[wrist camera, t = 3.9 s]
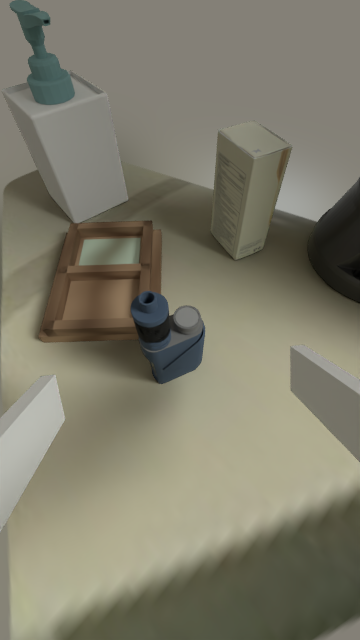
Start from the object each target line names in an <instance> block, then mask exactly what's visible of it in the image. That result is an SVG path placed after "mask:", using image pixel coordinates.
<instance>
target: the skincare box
mask: <svg viewBox="0 0 360 640" xmlns="http://www.w3.org/2000/svg"><path fill="white" fill-rule="evenodd" d="M291 150H292V145H291V144H289V143H288V142H286V141H285V140H283V139H282V138H281V137H279V136H278V135H276V134H275V133H273V132H271V131H270V130H268V129H267V128H265V127H264V126H262V125H261V124H259V123H258V122H256V121H249V122H246V123H242V124H238V125H235V126H231V127H227V128H223V129H219V130H218V139H217V154H216V167H215V181H214V194H213V208H212V221H211V233H212V234H213V236H214V237H215V238H216V239H217V240H218V242H219V243H220V244H221V245H222V246H223V247H224V249H225V250H226V251H227V252H228V253H229V254H230V255H231V256H232V257H233V258H234V259H235V260H237V259H240V258H242V257H245V256H248V255H250V254H253V253H255V252H257V251H259V250H262V249H263V247H264V243H265V240H266V236H267V233H268V230H269V226H270V223H271V219H272V216H273V212H274V209H275V205H276V202H277V198H278V195H279V191H280V188H281V184H282V181H283V177H284V174H285V170H286V167H287V164H288V160H289V157H290V153H291Z"/></svg>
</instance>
